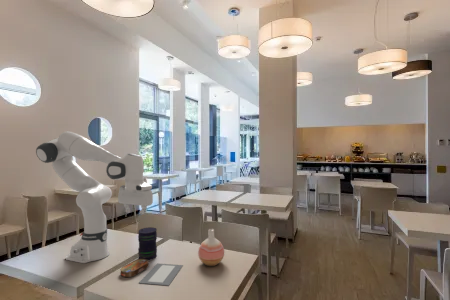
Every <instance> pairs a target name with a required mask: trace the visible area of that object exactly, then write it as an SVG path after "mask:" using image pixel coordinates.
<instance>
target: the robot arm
mask: <svg viewBox="0 0 450 300" xmlns="http://www.w3.org/2000/svg"><path fill="white" fill-rule="evenodd" d="M35 154H36V156H37V158H38V159H39V161H41V162H42V163H45V164H46V163H47V164H49V163H51V166H52V169H53V170H54V172H55V174H57V176H58V177H59V178H60V179H61V180H62V181H63V182H64V183H65V184H66V185H68V186H69V188H70V189H72V190H73V191H76V192H78V194H77V195H76V198H75V204H76V205H77V207H78V208H80V210H81V213H82V216H83V230H84V231H83V232H81V233H80V234H79V237H81V238H80V239H79V240H77V241H75V243H74V244H73V245H71V247H70V250H69V253H68V254H66V255H65V257H64V260H65V259H66V261H71V262H76V263H81V264H86V263H90V262H94V261H99V260H102V259H105V258H107V257H108V256H109V255H110V251H109V248H108V247H109V246H108V240H107V239H108V229H107V215H106V214H105V213H104V210H103V204H106V203H107V202H109V200H110V199H111V198H112V195H113V192H112V189H111V188H110V187H109V186H107V185H106V184H103V183H101V182H100V181H98V180H97V179H96V178H94V177H92V176H91V175H90V174H88V173H87V172H86V171H85V170H84V168H82V167H81V166H80V165H79V164H78V163H77V162H76V161H75V159H74V158H76V159H78V160H82V161H88V162H89V161H90V162H91V161H92V162H102V163H105V164H107V165H106V170H105V171H106V175H107V177H108V179H109V178H110V179H111V180H123V179H124V183H125V184H124V185H123V184H122V185H120V187H119V189H118V190H119V191H118V196H117V202H118V203H119V204H123V207H124V209H125V213H126V214H129V213H131V208H130V205H132V206H133V205H134V206H140V207H141V209H140V210H139V215H145V210H146V209H147V207H149V206H151V205H153V201H154V196H153V191H152V188H153V185H152V184H150V183H148V182H146V181H145V178H144V170H145V168H144V159H143V156H142V155H140V154H138V153H127V154H125V155H124V156H122V157H121V156H119V155H117V154H115V153H113V152H111V151H109V150H107V149H105V148H103V147H102V146H100V145H98V144H96V143H94V142H93V141H92V140H89V138H86V137H85V136H83V135H81V134H79V133H76V132H73V131H70V130H69V131H68V130H67V131H63V132H62V133H60V134H59V136H58V137H57V138H54V139H52V140H49V141H47V142H43V143H41V144H39V145H38V146H37V147H36V149H35ZM73 157H74V158H73Z"/></svg>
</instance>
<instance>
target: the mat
mask: <svg viewBox="0 0 450 300" xmlns="http://www.w3.org/2000/svg"><path fill="white" fill-rule="evenodd" d="M183 267H184V265H183V264H171V263H169V264H168V263H159V262H158V263H156V264H155V265H154V266H153V267H152V268H151V269H150V270H148V271H149V272H147V274H145V276H143V278H141V280H140V281H139V282H138V284H142V285H151V286H152V285H153V286H165V287H169V286H170V285H171V283H172V282H173V280H174V279H175V278H176V276H177V275H178V273H179V272H180V271H181V269H182V268H183Z"/></svg>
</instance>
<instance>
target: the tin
mask: <svg viewBox="0 0 450 300" xmlns="http://www.w3.org/2000/svg"><path fill="white" fill-rule="evenodd" d="M149 262H150V260H147V259H139V258H138V259H134V260H133V261H131V262H129V263H127V264H125V265H123V266H122V267H121V268H120V276H121V277H124V278H131V277H134V276H137V275H138V274H140V273H141V272H143V271H144V270H146V269H147V268H148V267H149Z"/></svg>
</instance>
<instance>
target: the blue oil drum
mask: <svg viewBox="0 0 450 300" xmlns="http://www.w3.org/2000/svg"><path fill="white" fill-rule="evenodd" d="M137 237H138V251H137V252H138V253H137V254H138V259H147V260H148V261H152V260H154V259H156V258H157V256H158V255H157V253H158V252H157V251H158V246H157V239H158V233H157V228H156V227H152V226H151V227H143V228H140V229H139V230H138V236H137Z"/></svg>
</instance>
